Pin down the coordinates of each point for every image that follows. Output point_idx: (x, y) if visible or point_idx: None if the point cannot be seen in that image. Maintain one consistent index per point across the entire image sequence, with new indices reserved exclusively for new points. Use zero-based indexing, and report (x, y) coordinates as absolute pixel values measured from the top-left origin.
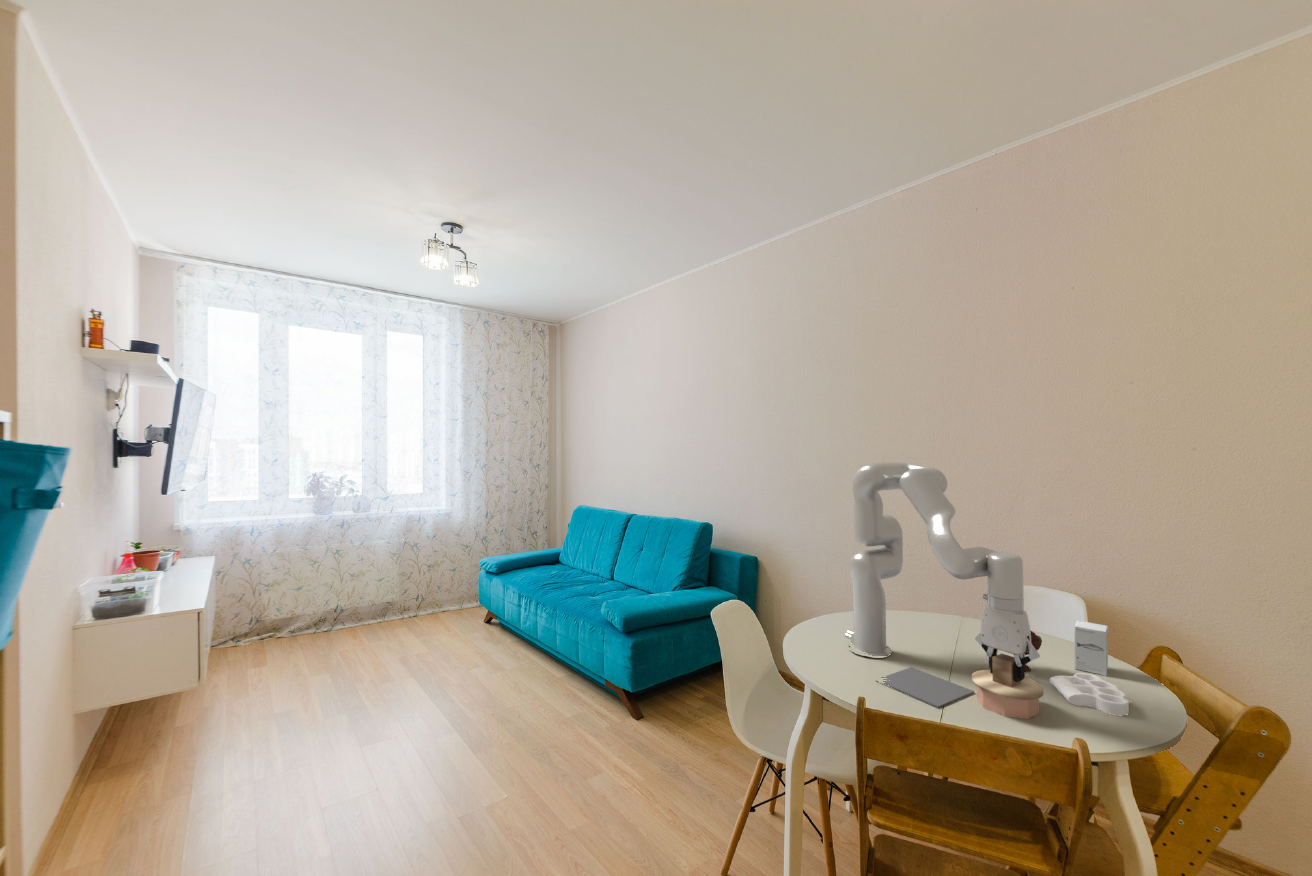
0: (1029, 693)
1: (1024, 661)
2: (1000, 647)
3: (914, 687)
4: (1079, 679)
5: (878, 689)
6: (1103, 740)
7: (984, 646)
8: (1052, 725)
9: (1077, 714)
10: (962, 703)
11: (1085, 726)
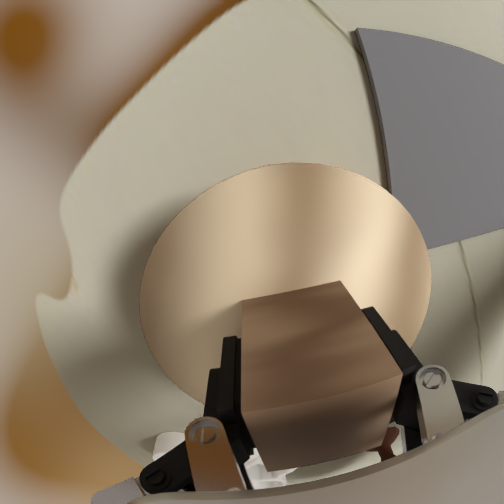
0: (164, 319)
1: (174, 462)
2: (355, 500)
3: (469, 98)
4: (267, 478)
5: (472, 27)
6: (63, 326)
7: (481, 400)
8: (133, 290)
9: (175, 394)
10: (359, 137)
11: (119, 357)
